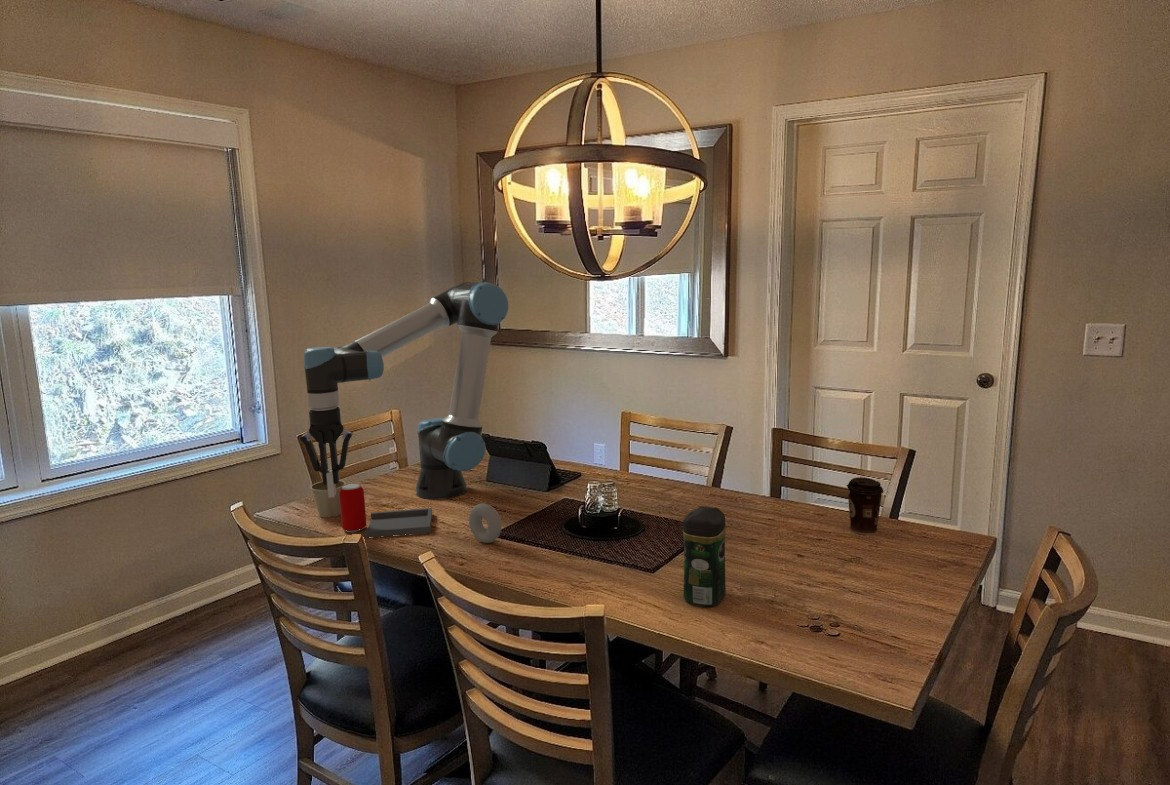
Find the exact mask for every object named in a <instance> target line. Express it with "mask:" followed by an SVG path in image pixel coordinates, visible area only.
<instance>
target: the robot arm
mask: <svg viewBox="0 0 1170 785" xmlns="http://www.w3.org/2000/svg"><path fill="white" fill-rule="evenodd" d="M508 312H509V300H508V296H507V295H506V293H505V292H504V291H503V289H502V288H501V287H500V286H498V284H495V283H491V282H487V281H485V282H484V281H479V282H477V281H476V282H474V281H473V282H470V281H469V282H468V281H467V282H461V283H459V284H455V285H454V286H452V287H450V288H448V289H446V290H445V291H443V292H441V293H439V294H437V295H435V296H434V297H431V298H430V299H429V302H428V304H425V305H424V306H422V307H420V308H418V309H416V310H413V311H411V312H409V313H408V314H405V315H404V316H402V317H400V318H398V319H395V320H394V321H391V322H389V323H388V324H386V325H384V326H382V327H379V328H377V329H375V330H374V331H372V332H370V333H368V334H366V335H364V336H362V337H360V338H358V339H356V340H354V341H352V342H351V343H348V344H346V345H343V346H337V347H332V346H316V347H308V348H306V349H305V350H304V352H303V364H304V366H303V368H304V374H305V382H306V395H307V396H306V397H307V405H308V408H310V409H309V410H308V417H309V428H308V431H307V432H306V433H305V434H302V435H301V437H300V441H301V442H302V443H303V445H304V446H305V448H306V452H307V454H308V456H309V460H310V462H311V465H312V469H313V470H314V471H315V472H318V473H319V472H320V473H321V476H322V481H323V484H324V485H327V486H328V497H329V498H330V497H335V495H336V486H335V484H338V482H339V480H340V475H339V471H341V470H344V468H345V467H346V464H347V462H346V461H347V457H348V449H349V445H350V444H349V443H350V440H351V438H352V437H353V435H354V432H353V431H351V430H350V431H348V430H347V429H344V425H343V424H342V418H341V410H340V407H339V406H340V397H339V385H338V384H339V383H341V384H342V383H349V382H358V381H368V380H369V381H371V380H374V379H380V378H381V377H382V376H383V374H384V370H385V369H384V368H385V366H384V359H383V358H384V357H386V356H387V355H389V354H391V353H393V352H396V351H397V350H399V349H401V348H403V347H405V346H406V345H408V344H410V343H412V342H414V341H417V339H420V338H422V337H424V336H426V335H428V334H431V333H432V332H434V331H435V330H437V329H439V328H441V327H443V328H449V327H451V326H452V325H455V324H456V325H457V326H456V327H457V328H458V329H459V331H460V332H461V333H460V340H459V347H458V354H457V360H456V367H455V372H454V377H453V378H454V379H453V384H452V391H451V392H452V393H451V396H450V398H451V399H450V403H449V404H450V405H449V409H448V414H447V416H444V417H437V418H436V417H435V418H429V419H424V420H421V421H419V422H418V425H417V438H418V448H419V450H418V451H419V461H420V464H419V465H420V471H419V475H418V478H417V481H416V487H415V489H416V490H415V491H416V492H415V493H416V496H417V497H419V498H421V497H422V499H426V498H428V500H429V499H430V500H442V499H443V500H444V498H445V499H451V498H454V497H458V496H461V495H463V494H464V493H466V492H467V482H466V480H465V477H464V474H463V472H468V471H471V470H473V469H475V467H477V466H478V465H480V463H482V461H483V459H484V458H485V455H486V450H487V448H486V443H485V441H484V439H483V437H482V432H483V424H482V423H481V421H480V420H479V416H480V411H481V403H482V397H483V392H484V386H485V385H484V384H485V378H486V372H487V367H488V360H489V353H490V346H491V342H492V338H493V337H494V336H495V335H496V334H498V332H499V331H498V330H499V325H500V323H501V322H502V321H503V320H505V318H507V317H506V316H507V315H508ZM341 435H342V439H343V441H342V447H341V452H340V459H339V460H338V451H337V450H338V449H337V448H338V447H337V440H338V439H339V437H340V436H341ZM312 439H314V440H315V441H316V442H317V443H318V450H319V458H320V459H319V458H318V455H317V452H316V450H315V447H314V444H313V441H312ZM327 444H328V446H329V452H330V464H331V470H329V466H328V453H327ZM338 462H339V463H338ZM465 491H466V492H465Z"/></svg>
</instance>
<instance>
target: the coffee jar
mask: <svg viewBox="0 0 1170 785" xmlns="http://www.w3.org/2000/svg"><path fill="white" fill-rule="evenodd" d="M682 524H683V527H682V535H683V549H684V550H683V552H684V553H683V554H684V555H683V556H684V557H683V562H684V563H683V598H684V599H683V600H685V601H686V602H687V603H690V604H691V605H693V606H696V607H715V606H717V605H719V603H720V602H721V601H722V600H723V598H724V596H725V594H726V588H727V587H726V586H727V585H726V583H727V582H726V516H725V514H724V512H723V511H722V510H720V509H719V507H713V506H712V507H711V506H703V505H701V506H699V507H698V508H695V509H693V510H691V511H690V512H689V513H688V514H687V515H686V516H685V517H684V518H683V522H682Z"/></svg>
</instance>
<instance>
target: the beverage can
mask: <svg viewBox="0 0 1170 785" xmlns="http://www.w3.org/2000/svg"><path fill="white" fill-rule="evenodd" d="M339 496H340V508H341V514H340V516H341V517H340V518H341V527H342V531H343V532H345V533H346V532H347V533H353V534H354V533H358V532H357V531H359V532H361V531H362V530H364V529H365V528H366V526H367V514H366V501H365V491H364V488H363V487H362V486H361V485H360V484H358V483H350V484H346V485H345V486H343V487H342V488H341V490H340V493H339ZM359 529H360V530H361V531H360V530H359ZM346 530H347V531H346Z"/></svg>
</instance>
